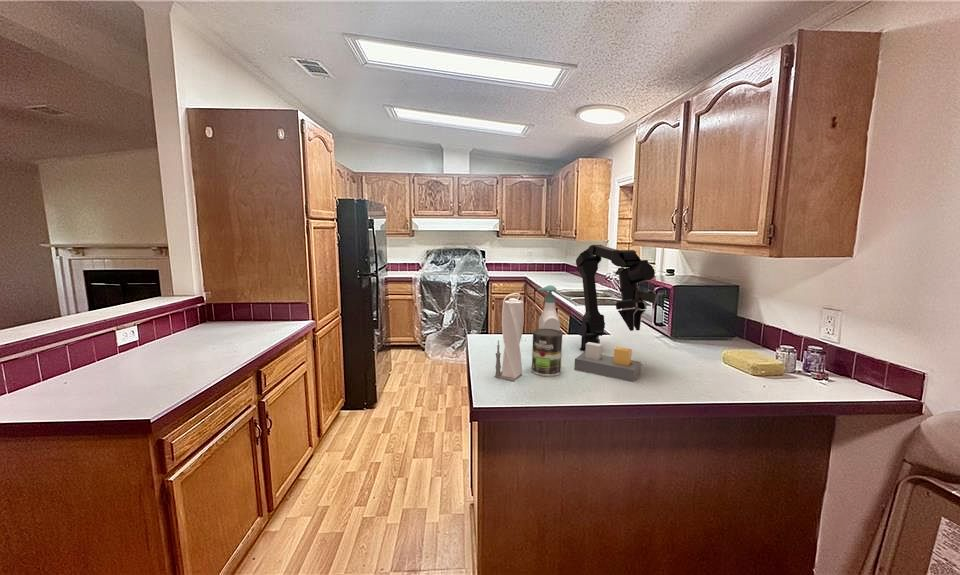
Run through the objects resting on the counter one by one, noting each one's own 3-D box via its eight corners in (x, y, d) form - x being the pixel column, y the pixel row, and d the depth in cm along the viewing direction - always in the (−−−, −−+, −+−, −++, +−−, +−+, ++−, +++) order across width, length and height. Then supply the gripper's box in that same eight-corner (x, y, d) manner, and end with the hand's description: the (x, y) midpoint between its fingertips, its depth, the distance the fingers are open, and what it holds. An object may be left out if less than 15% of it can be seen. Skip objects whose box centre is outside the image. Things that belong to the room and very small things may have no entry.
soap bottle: (533, 348, 164) (535, 283, 160) (553, 348, 164) (555, 283, 160) (538, 357, 153) (539, 287, 149) (559, 357, 153) (561, 287, 149)
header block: (574, 369, 139) (574, 358, 139) (584, 361, 147) (584, 351, 147) (633, 382, 128) (633, 370, 127) (640, 373, 136) (641, 361, 136)
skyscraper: (505, 369, 139) (506, 291, 135) (526, 374, 135) (528, 293, 131) (494, 377, 132) (495, 295, 128) (516, 382, 128) (517, 297, 124)
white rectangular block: (584, 365, 140) (585, 343, 139) (587, 363, 143) (588, 341, 142) (598, 368, 138) (599, 346, 137) (601, 365, 140) (602, 344, 139)
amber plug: (613, 371, 135) (614, 348, 134) (615, 368, 137) (616, 346, 136) (628, 374, 132) (629, 351, 131) (630, 371, 135) (631, 349, 133)
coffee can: (556, 378, 131) (557, 337, 129) (527, 373, 136) (528, 333, 134) (564, 369, 140) (566, 330, 138) (537, 364, 145) (538, 327, 143)
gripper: (648, 279, 124) (655, 328, 122) (658, 284, 140) (665, 328, 137) (612, 284, 130) (618, 331, 128) (626, 288, 146) (632, 330, 143)
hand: (635, 330), depth 134 cm, fingers open, 9 cm apart
